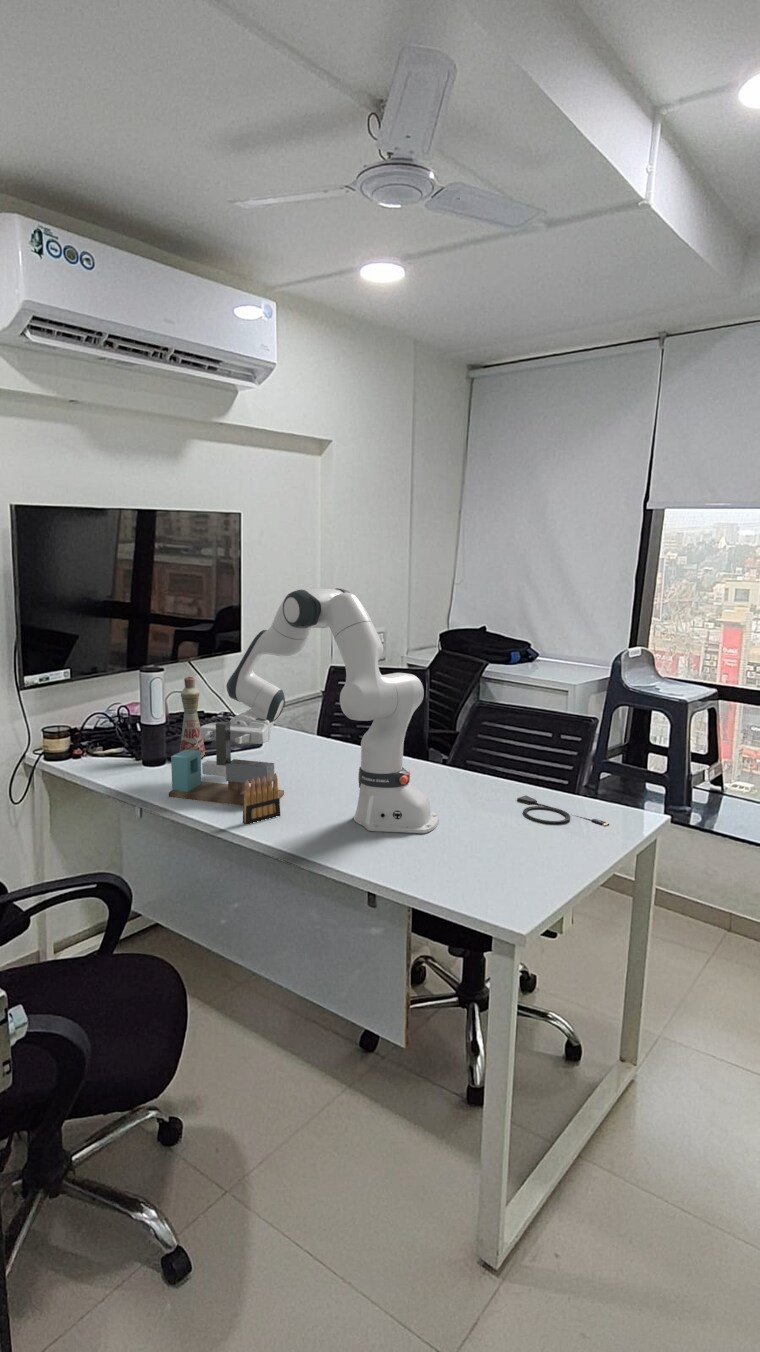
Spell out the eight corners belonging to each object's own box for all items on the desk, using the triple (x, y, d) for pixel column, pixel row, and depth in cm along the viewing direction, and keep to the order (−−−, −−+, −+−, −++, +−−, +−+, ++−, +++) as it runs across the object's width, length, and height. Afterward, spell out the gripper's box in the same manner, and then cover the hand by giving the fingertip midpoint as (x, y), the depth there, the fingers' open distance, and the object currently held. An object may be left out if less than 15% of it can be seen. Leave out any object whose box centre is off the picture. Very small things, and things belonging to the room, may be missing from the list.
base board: (284, 795, 226) (283, 776, 225) (267, 808, 214) (266, 789, 213) (189, 784, 234) (189, 767, 233) (168, 797, 222) (168, 778, 221)
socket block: (201, 783, 230) (200, 750, 228) (187, 791, 222) (186, 758, 221) (186, 781, 231) (185, 749, 230) (172, 790, 224) (171, 756, 222)
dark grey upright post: (268, 777, 221) (267, 725, 218) (263, 780, 218) (262, 728, 215) (207, 771, 226) (206, 720, 223) (202, 774, 223) (201, 722, 220)
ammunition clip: (246, 825, 202) (245, 780, 200) (242, 823, 203) (241, 779, 201) (280, 816, 209) (280, 773, 207) (276, 814, 210) (276, 771, 208)
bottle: (204, 753, 267) (202, 673, 262) (207, 760, 259) (205, 678, 254) (178, 755, 265) (175, 674, 260) (180, 762, 256) (177, 679, 251)
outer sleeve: (274, 779, 222) (274, 763, 221) (267, 785, 217) (266, 767, 216) (234, 775, 225) (234, 759, 224) (226, 780, 220) (226, 763, 219)
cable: (579, 839, 197) (580, 833, 197) (494, 809, 218) (494, 804, 218) (609, 826, 206) (609, 821, 206) (524, 799, 227) (524, 794, 227)
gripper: (211, 715, 236) (189, 725, 223) (274, 720, 230) (254, 731, 217) (212, 735, 237) (189, 747, 224) (274, 741, 231) (254, 753, 218)
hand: (222, 739), depth 220 cm, fingers open, 8 cm apart
